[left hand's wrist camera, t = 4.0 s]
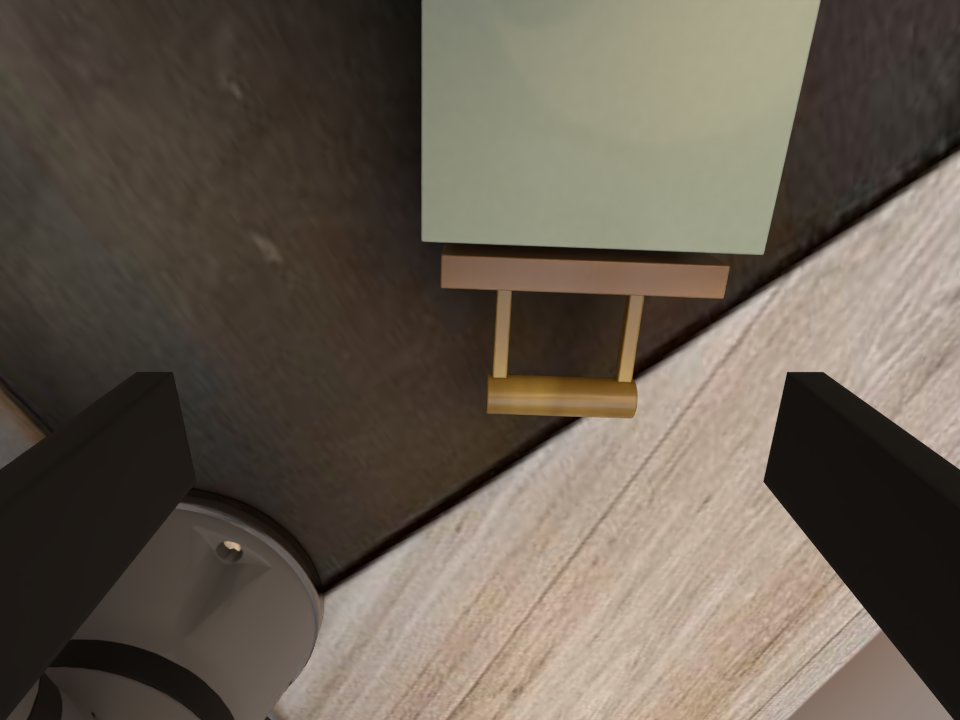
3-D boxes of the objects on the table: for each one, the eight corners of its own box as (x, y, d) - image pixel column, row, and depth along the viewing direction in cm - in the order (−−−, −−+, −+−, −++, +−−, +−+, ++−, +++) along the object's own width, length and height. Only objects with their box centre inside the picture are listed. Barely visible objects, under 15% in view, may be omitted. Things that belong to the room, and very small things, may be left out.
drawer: (649, 383, 29) (693, 448, 23) (446, 376, 29) (438, 440, 23) (746, -212, 20) (856, -350, 14) (458, -228, 20) (449, -374, 14)
